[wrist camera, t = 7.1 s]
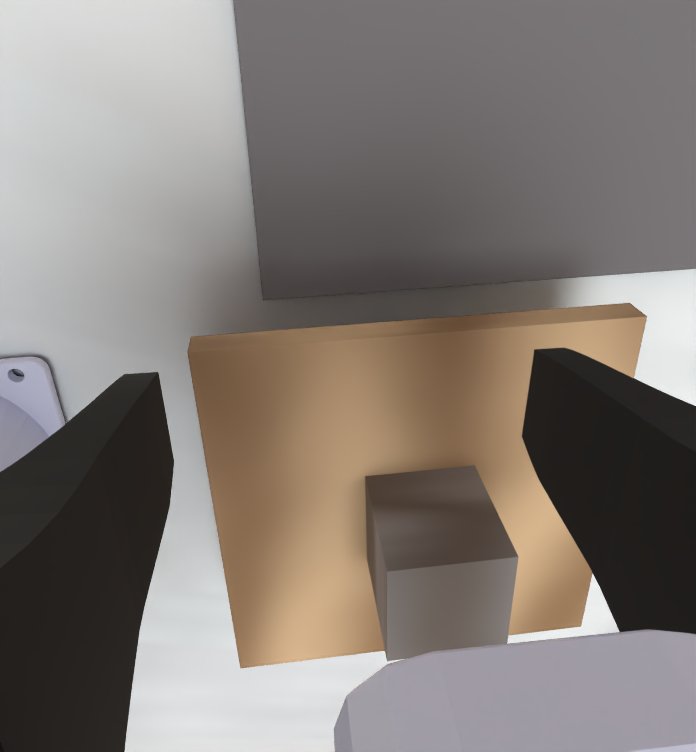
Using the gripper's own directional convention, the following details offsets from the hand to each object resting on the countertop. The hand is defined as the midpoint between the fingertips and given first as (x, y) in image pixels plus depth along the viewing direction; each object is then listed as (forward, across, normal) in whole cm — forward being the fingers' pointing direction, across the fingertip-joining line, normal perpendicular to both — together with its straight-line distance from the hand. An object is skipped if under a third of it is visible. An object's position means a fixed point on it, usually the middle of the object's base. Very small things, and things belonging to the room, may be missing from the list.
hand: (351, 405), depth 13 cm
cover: (+6, -3, +8) cm, 10 cm away
